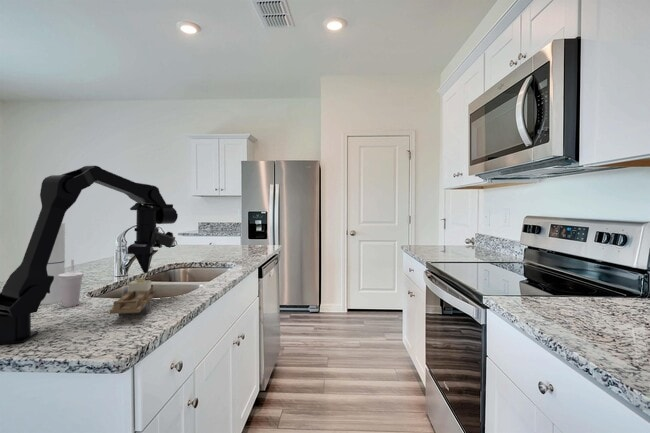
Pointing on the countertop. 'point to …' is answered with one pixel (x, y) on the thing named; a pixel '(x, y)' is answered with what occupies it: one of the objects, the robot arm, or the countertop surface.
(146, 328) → the countertop surface
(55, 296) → the cylindrical container
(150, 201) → the robot arm
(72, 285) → the smoothie
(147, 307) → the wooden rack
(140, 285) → the block
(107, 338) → the countertop surface
